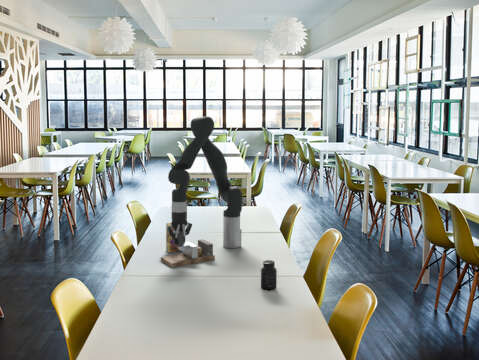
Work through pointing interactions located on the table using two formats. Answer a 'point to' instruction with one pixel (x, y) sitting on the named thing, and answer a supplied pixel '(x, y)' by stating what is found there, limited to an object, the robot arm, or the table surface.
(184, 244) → the jaw
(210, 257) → the board
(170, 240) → the candy box
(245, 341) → the table surface
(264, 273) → the supplement bottle
